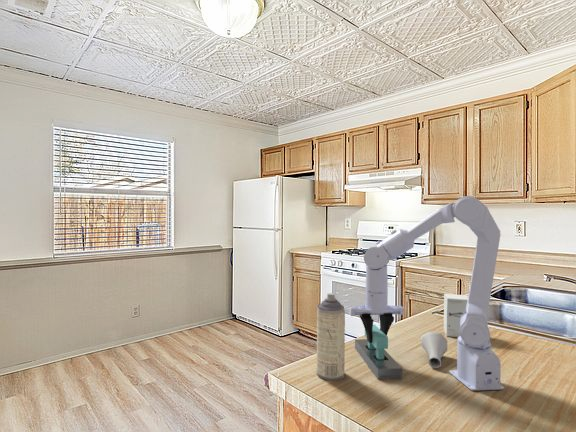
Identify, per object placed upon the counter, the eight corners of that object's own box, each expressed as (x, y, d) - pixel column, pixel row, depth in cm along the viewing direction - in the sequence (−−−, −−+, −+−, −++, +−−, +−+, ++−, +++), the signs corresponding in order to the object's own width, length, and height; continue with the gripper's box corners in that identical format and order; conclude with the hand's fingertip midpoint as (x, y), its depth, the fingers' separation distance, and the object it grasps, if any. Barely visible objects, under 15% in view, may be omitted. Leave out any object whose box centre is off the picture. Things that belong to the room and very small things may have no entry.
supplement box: (446, 336, 116) (446, 297, 116) (443, 329, 123) (443, 293, 123) (471, 339, 114) (471, 299, 114) (466, 331, 121) (467, 294, 121)
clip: (387, 360, 92) (388, 337, 92) (376, 360, 92) (376, 337, 92) (374, 345, 102) (375, 324, 102) (364, 346, 102) (364, 325, 102)
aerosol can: (349, 377, 88) (350, 295, 87) (325, 382, 85) (326, 298, 84) (334, 366, 94) (335, 289, 94) (311, 371, 91) (312, 292, 91)
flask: (443, 328, 100) (445, 348, 91) (451, 352, 101) (454, 373, 91) (416, 333, 103) (416, 352, 94) (425, 355, 103) (425, 377, 94)
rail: (402, 378, 87) (402, 368, 87) (377, 379, 87) (378, 369, 86) (374, 347, 107) (374, 339, 107) (354, 348, 106) (354, 339, 106)
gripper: (396, 287, 101) (396, 335, 101) (346, 288, 100) (346, 336, 100) (407, 293, 94) (406, 344, 94) (353, 294, 93) (352, 346, 93)
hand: (376, 341), depth 97 cm, fingers closed on clip, 3 cm apart
